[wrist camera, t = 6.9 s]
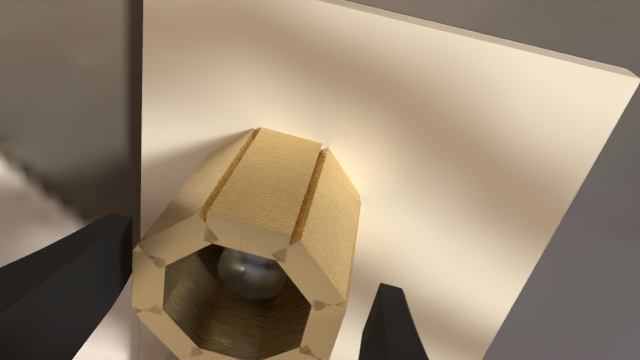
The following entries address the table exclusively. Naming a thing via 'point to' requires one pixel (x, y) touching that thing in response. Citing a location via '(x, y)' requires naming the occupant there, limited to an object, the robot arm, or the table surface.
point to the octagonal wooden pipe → (252, 252)
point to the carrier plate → (387, 142)
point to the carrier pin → (251, 274)
